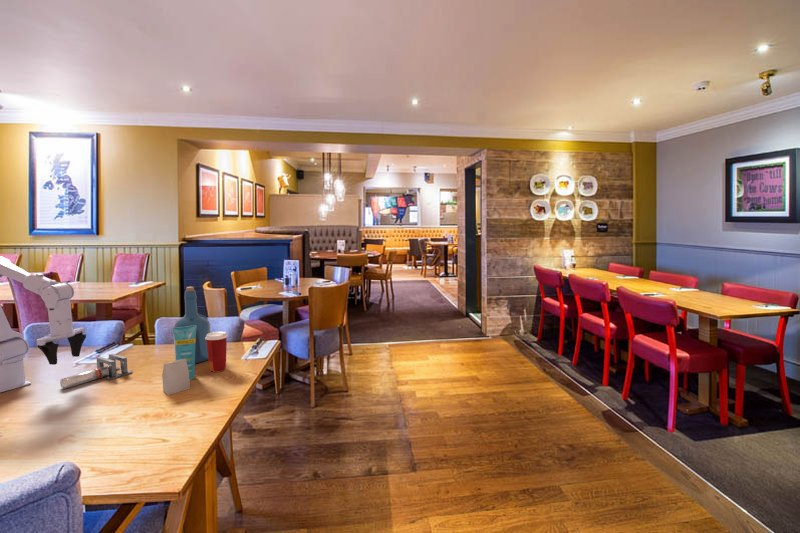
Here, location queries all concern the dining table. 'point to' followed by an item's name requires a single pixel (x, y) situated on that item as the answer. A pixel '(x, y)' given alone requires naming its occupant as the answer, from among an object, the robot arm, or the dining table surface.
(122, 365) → the collar
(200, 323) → the wine bottle
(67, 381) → the silver cylinder
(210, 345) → the paper cup
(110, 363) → the grey holder stand
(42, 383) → the dining table surface
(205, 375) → the dining table surface
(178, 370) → the tea bag
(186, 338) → the tube
